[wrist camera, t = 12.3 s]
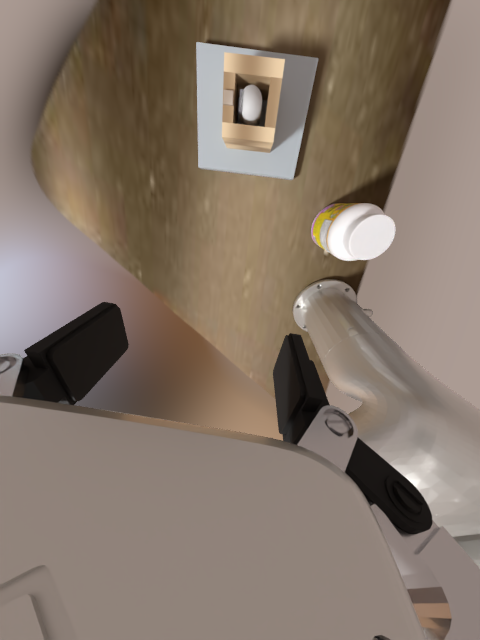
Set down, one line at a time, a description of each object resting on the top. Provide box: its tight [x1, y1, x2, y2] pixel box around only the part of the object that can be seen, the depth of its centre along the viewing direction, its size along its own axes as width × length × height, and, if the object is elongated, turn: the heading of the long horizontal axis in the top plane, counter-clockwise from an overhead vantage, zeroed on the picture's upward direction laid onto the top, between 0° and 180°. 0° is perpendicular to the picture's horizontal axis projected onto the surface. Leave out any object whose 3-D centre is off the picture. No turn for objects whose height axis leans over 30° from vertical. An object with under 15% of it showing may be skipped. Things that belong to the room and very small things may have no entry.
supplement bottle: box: [311, 203, 396, 261], centre depth 25 cm, size 7×7×13 cm
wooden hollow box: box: [222, 52, 285, 153], centre depth 21 cm, size 6×6×5 cm
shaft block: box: [196, 42, 318, 180], centre depth 22 cm, size 14×11×6 cm
